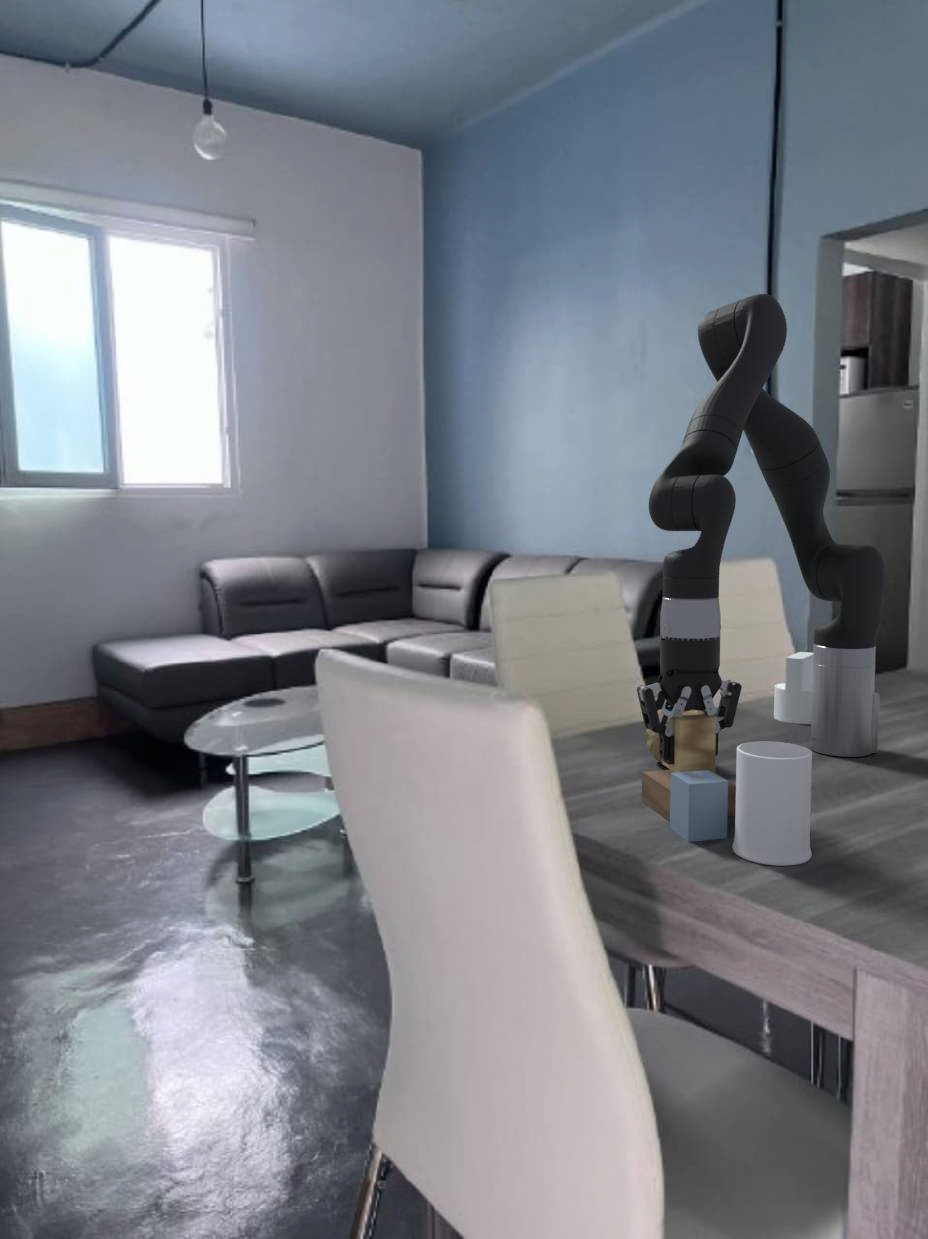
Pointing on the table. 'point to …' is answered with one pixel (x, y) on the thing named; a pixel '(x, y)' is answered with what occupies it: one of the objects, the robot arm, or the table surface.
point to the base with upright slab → (795, 690)
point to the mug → (773, 803)
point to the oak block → (694, 743)
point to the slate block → (698, 805)
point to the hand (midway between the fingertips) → (688, 760)
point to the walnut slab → (659, 792)
